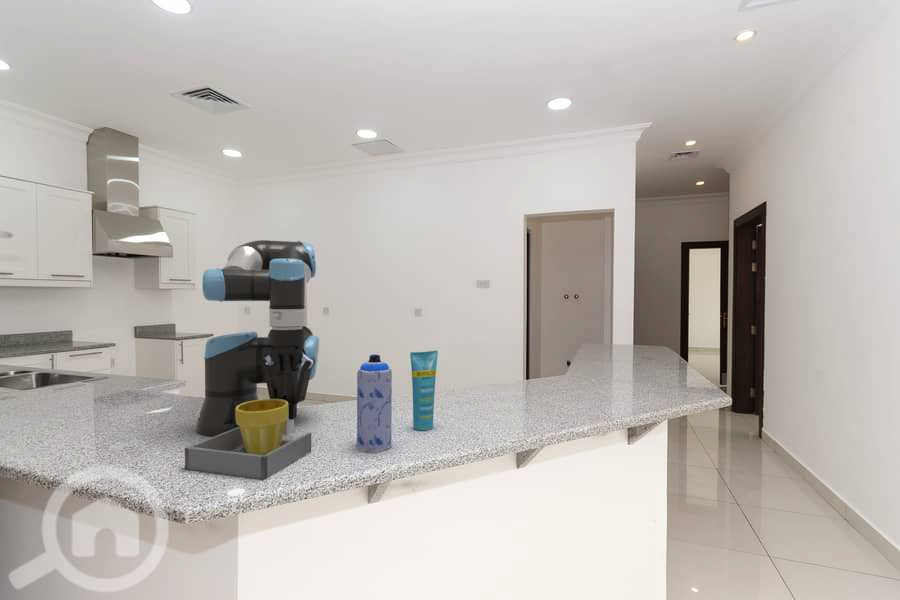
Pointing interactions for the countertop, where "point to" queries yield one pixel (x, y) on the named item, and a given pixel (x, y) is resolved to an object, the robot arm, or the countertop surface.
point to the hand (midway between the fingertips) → (287, 433)
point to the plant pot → (262, 424)
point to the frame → (242, 456)
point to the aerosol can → (374, 406)
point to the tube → (423, 388)
